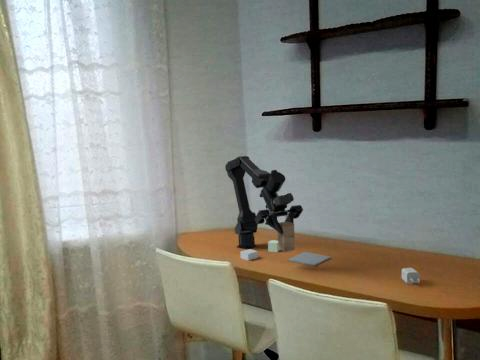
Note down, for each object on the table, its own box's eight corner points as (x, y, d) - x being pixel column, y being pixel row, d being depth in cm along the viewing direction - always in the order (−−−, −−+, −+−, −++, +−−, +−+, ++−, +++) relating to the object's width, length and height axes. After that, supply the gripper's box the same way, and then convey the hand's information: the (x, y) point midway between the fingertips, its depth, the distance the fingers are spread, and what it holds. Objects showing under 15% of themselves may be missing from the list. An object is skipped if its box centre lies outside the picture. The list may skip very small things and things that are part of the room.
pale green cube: (268, 251, 186) (267, 242, 185) (271, 249, 189) (270, 240, 189) (277, 252, 184) (276, 243, 184) (280, 249, 188) (279, 240, 187)
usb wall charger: (413, 279, 146) (413, 267, 146) (422, 286, 140) (422, 274, 139) (401, 279, 146) (401, 268, 146) (410, 287, 139) (410, 275, 139)
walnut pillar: (278, 248, 165) (277, 222, 164) (288, 247, 167) (287, 221, 166) (284, 251, 161) (283, 225, 160) (294, 249, 163) (294, 223, 162)
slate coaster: (287, 260, 172) (287, 259, 172) (305, 253, 181) (305, 251, 181) (313, 266, 164) (313, 264, 164) (330, 258, 173) (330, 256, 172)
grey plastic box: (240, 258, 178) (240, 251, 178) (250, 256, 181) (249, 249, 181) (248, 261, 174) (248, 254, 174) (257, 258, 177) (257, 251, 177)
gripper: (257, 189, 160) (273, 224, 152) (300, 184, 168) (317, 217, 160) (248, 206, 168) (263, 241, 160) (289, 201, 176) (305, 233, 168)
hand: (287, 232), depth 162 cm, fingers closed on walnut pillar, 4 cm apart
